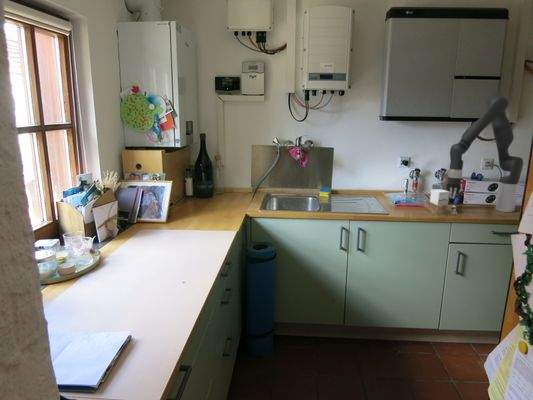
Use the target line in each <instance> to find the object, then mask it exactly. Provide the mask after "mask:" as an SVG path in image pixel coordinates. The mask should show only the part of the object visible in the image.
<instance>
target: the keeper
mask: <svg viewBox="0 0 533 400" xmlns="http://www.w3.org/2000/svg"><path fill="white" fill-rule="evenodd" d="M424 209H425V210H428V211H430V213H434V214H436V215H445V214H446V215H448V214H449V215H450V214H451V215H458V212H457V208H453V205H436V204H434V203H431V202H430V199H425V200H424Z"/></svg>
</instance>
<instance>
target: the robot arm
mask: <svg viewBox="0 0 533 400" xmlns="http://www.w3.org/2000/svg"><path fill="white" fill-rule="evenodd" d="M485 106H486V109H487V110H486V111H485V112H484V114H483V115H482V116H481V117H480V118H478V119H477V120H476V121H474V122H473V123H471V124H470V125H469V126H468V127H467V129H466V130H465V131H464V132H463V133H462V135H461V139H460V140H459V141H458V142H457V143H454V144H453V145H451V147H450V149H449V158H450V159H449V160H450V162H449V170H448V172H447V173H448V175H447V181H446V185H445V186H444V187H441V189H442V190H446V191H449V198H448V201H449V202H451V203H452V204H454V203H455V199H458V198H459V197H460V196H461V195H462V194H464V193H465V190H464V189H463V188H462V183H461V182H462V179H463V178H462V177H463V168H464V160H463V159H462V157H463V155H465V154H466V153H467V151H468V150H469V149H470V147H471V145H472V144H473V142H474V141H475V140H476V139H477V137H479V135H480V134H481V133H482V132H483V131H484V130H485V129H486V128H487V127H488V126H489V125H490V124H491V127H492V133H493V138H494V142H495V144H496V149H497V155H498V165H499V167H500V170H502V171H503V172H509V175H507V176H501V177H500V180H499V184H498V190H497V196H496V202H495V206H494V207H495V208H494V210H495V211H499V212H501V213H512V212H514V211H515V206H516V201H517V189H518V183H519V181H520V179H521V175H522V170H523V166H524V160H523V158H522V157H520V156H515V155H514V156H512V155H510V154H509V147H510V146H511V144H512V143H513V141H514V137H515V136H514V132H513V131H514V130H513V127H512V125H511V122H510V121H509V118H508V115H507V114H506V109H507V107H509V100H508V99H507V98H506V96H505V95H503V94H502V93H500V92H499V91H498V92H496V91H494V92H491V93H490V94H488V95H487V97H486V99H485Z"/></svg>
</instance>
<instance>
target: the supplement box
mask: <svg viewBox="0 0 533 400" xmlns="http://www.w3.org/2000/svg"><path fill="white" fill-rule="evenodd" d="M429 197H430V198H429V200H430V202H431V203H434V204H436V205H448V201H449V191H448V190H447V189H446V190H442V188H439V189H436V188H435V189H431V190H430V196H429Z"/></svg>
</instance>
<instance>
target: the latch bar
mask: <svg viewBox="0 0 533 400" xmlns="http://www.w3.org/2000/svg"><path fill="white" fill-rule="evenodd" d="M448 205H453V208H456V209H457V207H458V205H457V204H454V203H451V202H449V200H448Z"/></svg>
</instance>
